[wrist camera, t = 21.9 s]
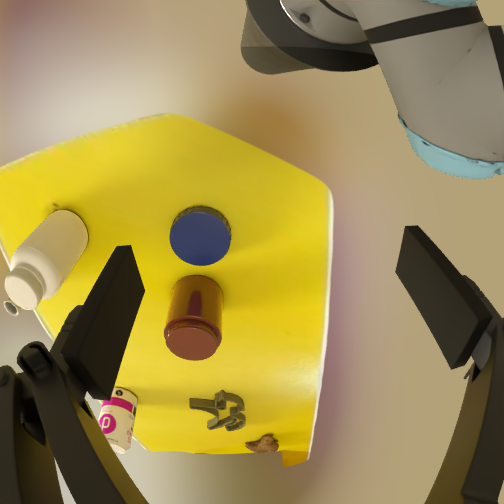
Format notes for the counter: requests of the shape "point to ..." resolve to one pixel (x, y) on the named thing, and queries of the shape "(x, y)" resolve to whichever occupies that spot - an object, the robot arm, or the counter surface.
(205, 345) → the jam jar
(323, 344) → the counter surface
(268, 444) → the brown irregular lump
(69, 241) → the pill bottle
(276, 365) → the counter surface
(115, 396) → the supplement can
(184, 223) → the jam lid
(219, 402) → the cookie cutter
